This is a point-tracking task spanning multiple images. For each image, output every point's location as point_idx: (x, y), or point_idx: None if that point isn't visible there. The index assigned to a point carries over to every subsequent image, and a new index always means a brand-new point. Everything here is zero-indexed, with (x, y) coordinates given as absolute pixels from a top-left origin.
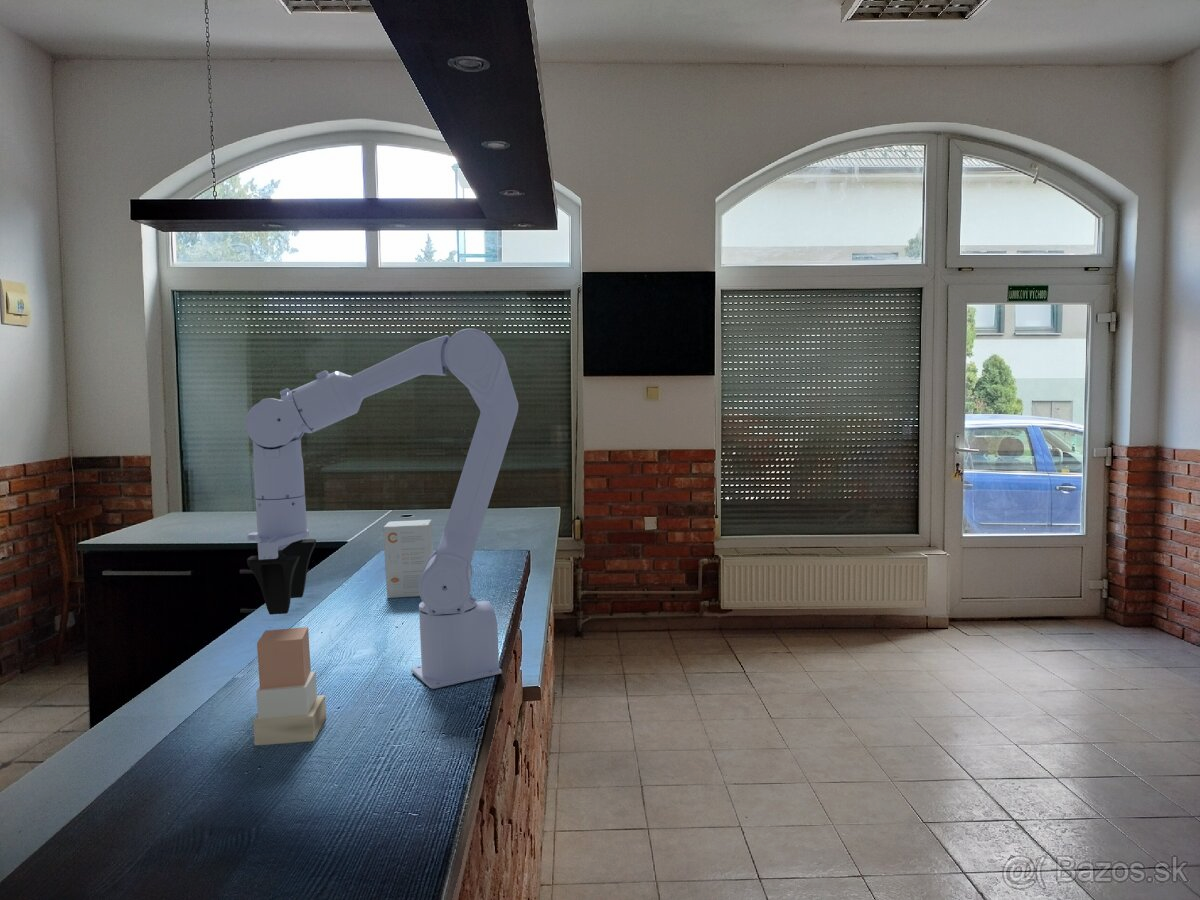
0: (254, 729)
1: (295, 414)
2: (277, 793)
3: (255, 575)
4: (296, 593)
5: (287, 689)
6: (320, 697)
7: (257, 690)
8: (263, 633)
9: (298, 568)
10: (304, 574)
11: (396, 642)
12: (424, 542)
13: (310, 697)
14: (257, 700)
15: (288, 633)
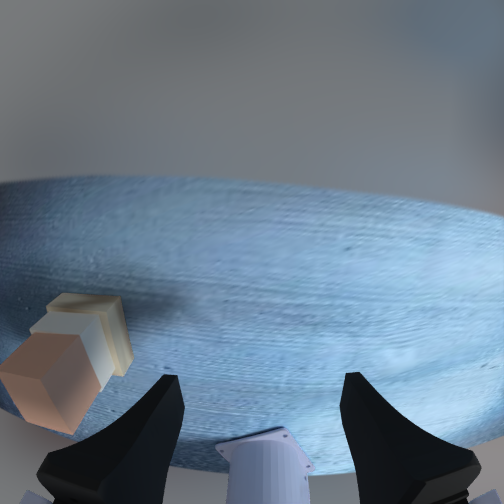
0: (52, 301)
1: None
2: (3, 329)
3: (80, 442)
4: (343, 404)
5: None
6: (115, 372)
7: (31, 329)
8: (28, 377)
9: (362, 466)
10: (353, 460)
11: (423, 385)
12: None
13: None
14: (36, 323)
15: (39, 409)
